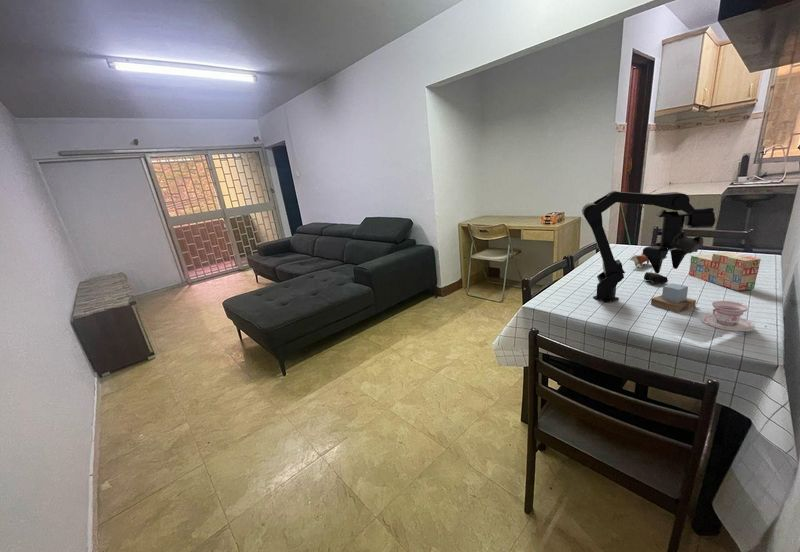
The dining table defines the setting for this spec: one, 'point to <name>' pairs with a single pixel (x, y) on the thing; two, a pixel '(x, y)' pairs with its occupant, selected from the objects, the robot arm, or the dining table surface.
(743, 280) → the stack of blocks
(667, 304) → the walnut block
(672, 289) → the slate cube
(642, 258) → the bull figurine
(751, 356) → the dining table surface
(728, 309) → the teacup
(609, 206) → the robot arm
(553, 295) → the dining table surface
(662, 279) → the tape measure
